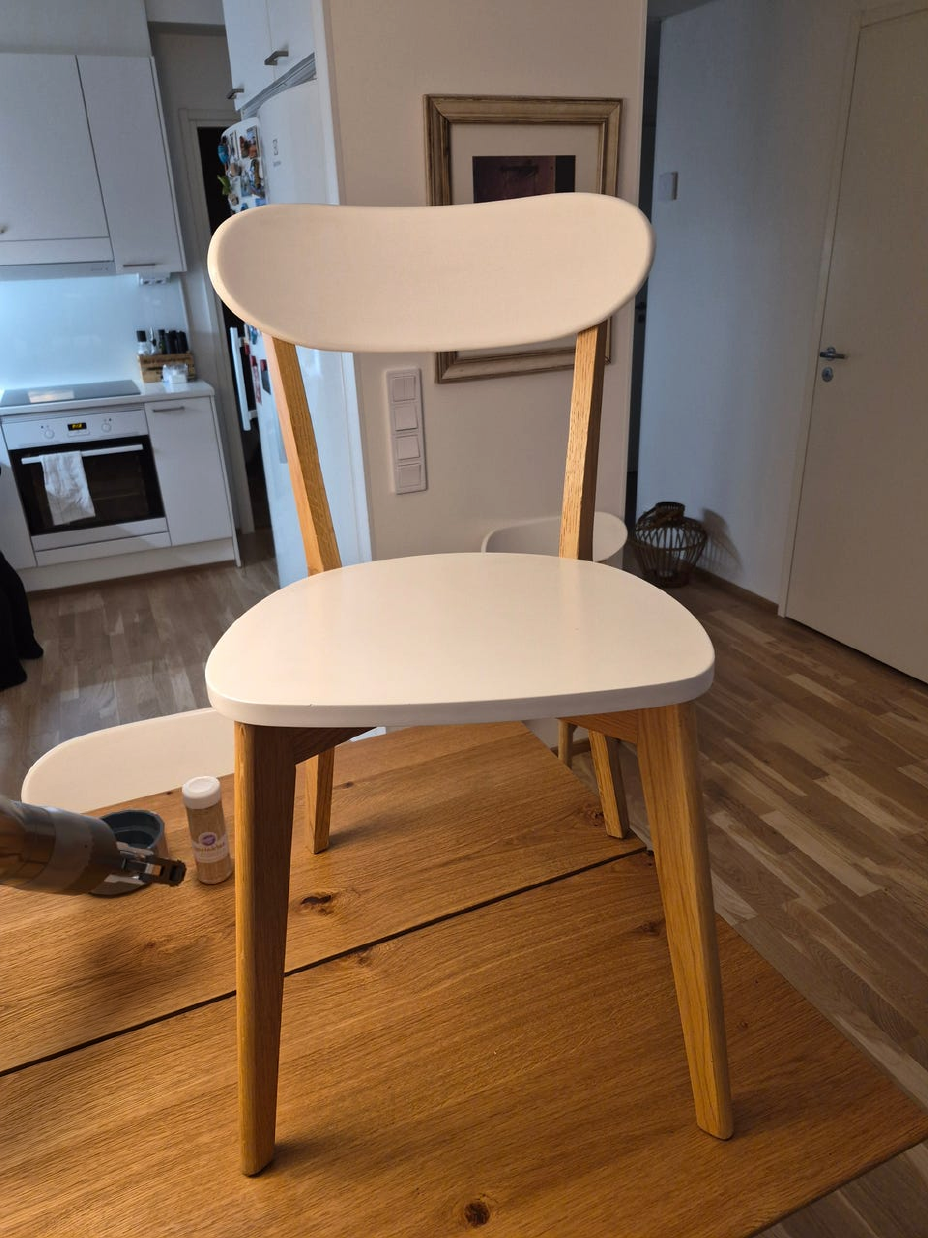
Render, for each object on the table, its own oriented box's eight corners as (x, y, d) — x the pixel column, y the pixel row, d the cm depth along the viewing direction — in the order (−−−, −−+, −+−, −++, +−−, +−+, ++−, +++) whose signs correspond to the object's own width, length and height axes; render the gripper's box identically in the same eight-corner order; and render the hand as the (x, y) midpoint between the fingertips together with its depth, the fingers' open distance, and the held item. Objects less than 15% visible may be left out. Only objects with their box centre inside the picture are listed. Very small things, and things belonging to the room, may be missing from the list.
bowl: (60, 896, 102) (51, 863, 100) (105, 837, 112) (97, 807, 110) (147, 900, 101) (140, 868, 99) (184, 841, 111) (178, 811, 109)
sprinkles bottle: (202, 890, 102) (186, 801, 97) (192, 869, 106) (176, 781, 100) (238, 877, 104) (224, 788, 99) (228, 856, 108) (214, 770, 102)
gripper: (132, 822, 76) (213, 843, 91) (4, 799, 80) (103, 823, 95) (105, 906, 74) (194, 914, 89) (-25, 879, 77) (81, 891, 92)
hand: (147, 867), depth 92 cm, fingers open, 8 cm apart
